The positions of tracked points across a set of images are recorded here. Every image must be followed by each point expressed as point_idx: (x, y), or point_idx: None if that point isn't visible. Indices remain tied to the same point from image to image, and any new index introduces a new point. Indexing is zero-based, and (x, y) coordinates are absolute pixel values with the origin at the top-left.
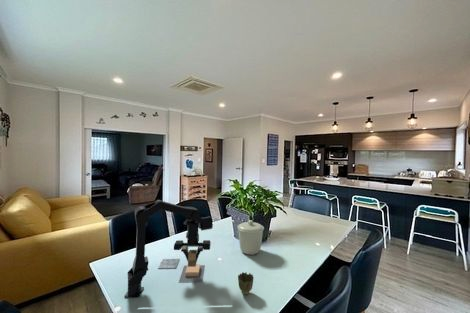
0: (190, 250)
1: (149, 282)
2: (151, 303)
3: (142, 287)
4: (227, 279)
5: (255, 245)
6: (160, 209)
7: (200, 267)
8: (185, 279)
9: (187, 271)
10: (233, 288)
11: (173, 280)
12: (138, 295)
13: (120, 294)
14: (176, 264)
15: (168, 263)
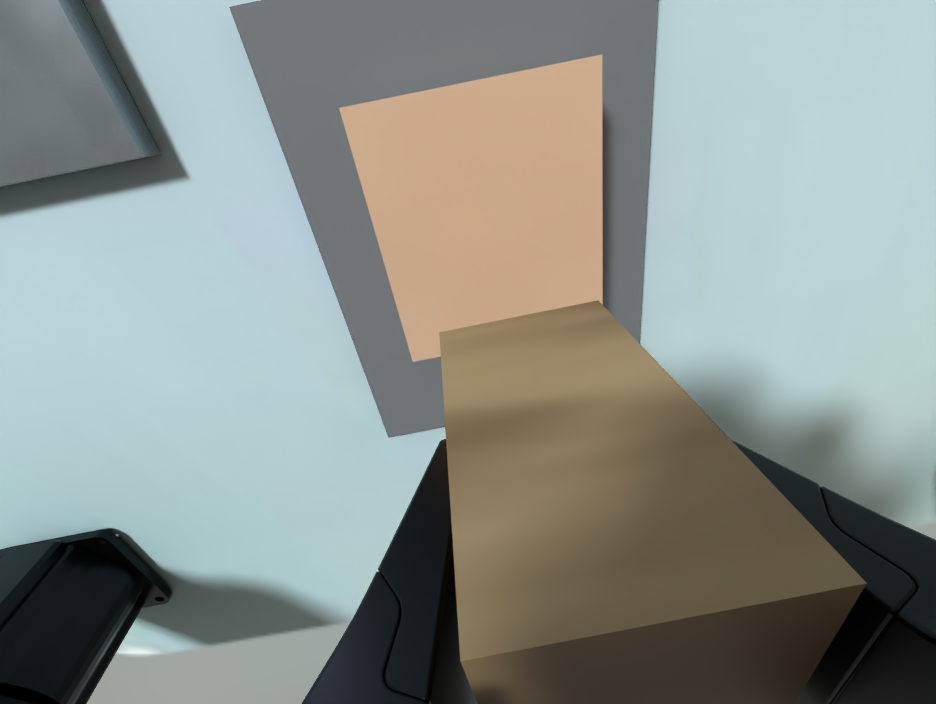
0: (539, 681)
1: (73, 461)
2: (312, 603)
3: (94, 540)
4: (916, 271)
5: None
6: None
7: (579, 42)
8: (440, 380)
9: (434, 334)
10: (913, 390)
11: (304, 392)
12: (159, 592)
13: None
14: (45, 15)
15: None
